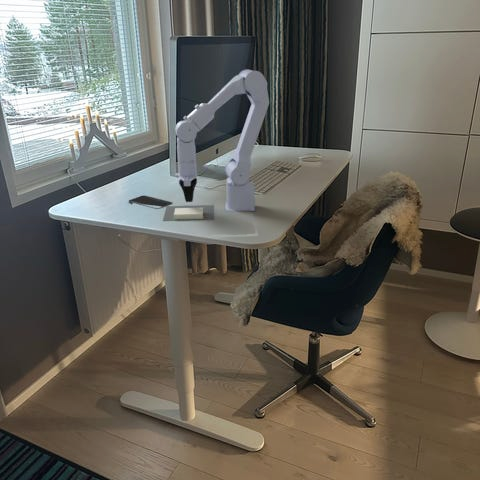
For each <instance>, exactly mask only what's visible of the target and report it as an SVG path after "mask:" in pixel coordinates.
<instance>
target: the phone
mask: <svg viewBox="0 0 480 480" xmlns="http://www.w3.org/2000/svg"><path fill="white" fill-rule="evenodd" d="M128 204H130V205H134V204H136V205H139V206H143V207H148V208H152V209H155V210H159V209H162V208H163V209H164V208H166V207H167V206H171V205H173V201H168V200H164V199H160V198H157V197H153V196H149V195H140V196H138V197H137V196H136V197H135V198H132V199H128ZM153 206H155V207H153Z"/></svg>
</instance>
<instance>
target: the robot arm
mask: <svg viewBox="0 0 480 480" xmlns="http://www.w3.org/2000/svg"><path fill="white" fill-rule="evenodd" d="M243 94H244V95H245V94H246V95H247V98H248V99H249V101H250V103H251V105H250V108H249V111H248V114H247V116H246V119H245V122H244V126H243V128H242V131H241V135H240V137H239V141H238V143H237V146H236V149H235V152H233V154H232V155H231V157H230V159H229V161H228V162H227V163H226V164H225V166H224V172H225V174H226V176H227V179H226V181H225V182H226V183H225V184H226V185H225V186H226V187H225V189H226V202H225V204H224V205H225V211H226V212H229V211H230V212H231V211H233V212H234V211H235V212H236V211H238V212H239V211H250V212H255V204H256V199H255V197H256V196H255V194H256V193H255V192H256V191H255V183H254V182H253V181H249V180H250V177H251V173H250V168H251V166H252V163H251V162H252V161H251V157H252V154H253V151H254V148H255V145H256V143H257V140H258V138H259V137H258V136H259V133H260V131H261V129H262V125H263V123H264V119H265V116H266V114H267V112H268V111H267V110H268V108H269V105H270V99H269V92H268V82H267V79H266V77H265V75H263V73H262V72H260V71H258V70H251V69H243V70H242V71H240V72H239V74H237V75H235V76H234V77H233V78H231V79H230V81H228V82H227V84H226V85H224V86H223V87H222V88H221V89H220V91H218V92H217V93H216V94H215V95H214V96H213V97H212V98H211V99H210V100H209V101H208V102H207V103H205V102H202V103H200V104H198V103H197V104H196V105H194V108H195V109H194V110H192V111H191V112H190V113H189V114H188V115H187V116H186V115H184V116H183V120H180V121H178V122H177V123H176V125H175V128H174V134H175V135H176V143H177V144H176V145H177V146H176V154H177V168H178V173H177V172H176V173H174V176H175V178H179V181H178V184H179V186H180V187H181V190H182V193H183V195H184V200H185V202H186V203H193V201H194V194H195V193H194V192H195V190H196V189H195V188H196V185H197V183H198V181H197V180H198V178H197V177H198V172H197V170H198V169H197V152H196V151H197V150H196V142H195V141H196V138H197V133H199V132H200V131H201V130H203V129H204V128H205V127H206V126H207V125H208V124H210V122H212V120H213V119H215V113H216V111H217V110H218V109H220V108H221V107H222V106H223V105H224V104H225V103H227V102H228V101H229V100H230V99H232V98H234V96H235V95H243Z"/></svg>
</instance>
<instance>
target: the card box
mask: <svg viewBox="0 0 480 480" xmlns="http://www.w3.org/2000/svg"><path fill="white" fill-rule="evenodd" d="M174 219H203V208H175V212H174Z"/></svg>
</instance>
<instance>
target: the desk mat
mask: <svg viewBox="0 0 480 480" xmlns="http://www.w3.org/2000/svg"><path fill="white" fill-rule="evenodd" d="M175 208H203V219H174V212H175ZM164 210H165V211H164V215H163V218H162V222H181V221H182V222H183V221H184V222H186V221H214V220H215V206H214V204H208V205H207V204H205V205H204V204H202V205H200V204H199V205H168V206H165V209H164Z"/></svg>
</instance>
